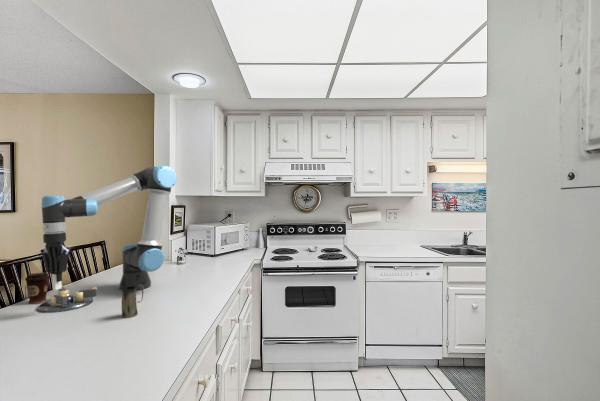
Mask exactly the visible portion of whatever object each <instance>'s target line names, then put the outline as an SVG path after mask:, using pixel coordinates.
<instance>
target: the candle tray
mask: <svg viewBox="0 0 600 401" xmlns="http://www.w3.org/2000/svg"><path fill="white" fill-rule="evenodd" d="M65 294H67V304H65V305H60V306H56V307H51V300H46V301H45V302H42V303H41V304H39V305H38V307H37V311H38V312H40V313H60V312H61V313H62V312H68V311H69V312H70V311H73V310H77V309H81V308H84V307H87V306H89V305H91V304H93V303H94V297H88V298H84V301H81V302H75V295H71V294H70V292H69V293H65Z"/></svg>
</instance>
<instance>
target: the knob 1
mask: <svg viewBox="0 0 600 401" xmlns="http://www.w3.org/2000/svg"><path fill="white" fill-rule="evenodd" d="M50 301H51V307H56V306H60V305H65V304H67V294H64V295H60V294H59V293H57V294H53V295H51V296H50Z"/></svg>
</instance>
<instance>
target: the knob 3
mask: <svg viewBox="0 0 600 401" xmlns="http://www.w3.org/2000/svg"><path fill="white" fill-rule="evenodd" d="M97 291H98V288H97V287H95V286H94V287H92V288H87V289H79V290H78V291H75V292H74V296H75V302H81V301H84V298H88V297H93V298H96V297H97V296H98V294H97V293H98V292H97Z"/></svg>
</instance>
